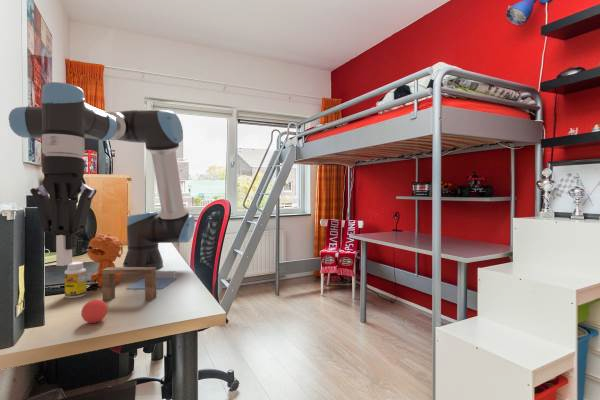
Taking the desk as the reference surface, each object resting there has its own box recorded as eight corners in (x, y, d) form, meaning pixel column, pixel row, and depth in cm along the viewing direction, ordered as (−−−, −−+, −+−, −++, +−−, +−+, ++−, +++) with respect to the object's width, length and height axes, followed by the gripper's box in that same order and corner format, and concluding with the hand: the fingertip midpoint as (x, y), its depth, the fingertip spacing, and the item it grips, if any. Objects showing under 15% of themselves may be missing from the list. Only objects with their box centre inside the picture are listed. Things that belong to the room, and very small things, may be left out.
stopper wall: (148, 277, 120) (148, 271, 120) (175, 277, 120) (175, 271, 120) (146, 278, 118) (146, 272, 118) (173, 278, 118) (173, 272, 118)
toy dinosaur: (90, 282, 114) (89, 231, 114) (124, 278, 118) (124, 230, 118) (83, 291, 104) (81, 235, 103) (121, 287, 108) (120, 233, 108)
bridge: (108, 297, 98) (107, 267, 98) (156, 297, 98) (156, 267, 98) (102, 300, 95) (102, 269, 95) (152, 300, 95) (151, 269, 95)
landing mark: (143, 279, 118) (143, 278, 118) (176, 278, 118) (176, 278, 118) (126, 289, 106) (126, 288, 106) (162, 289, 106) (162, 288, 106)
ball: (90, 317, 82) (90, 296, 82) (112, 317, 82) (112, 296, 82) (76, 326, 77) (75, 304, 77) (99, 326, 77) (99, 303, 77)
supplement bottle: (60, 297, 98) (59, 264, 97) (78, 292, 103) (78, 260, 102) (72, 299, 96) (72, 265, 95) (91, 294, 101) (90, 261, 100)
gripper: (18, 154, 66) (19, 268, 67) (82, 154, 66) (83, 268, 67) (47, 158, 74) (47, 261, 74) (104, 158, 74) (104, 261, 74)
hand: (64, 264), depth 70 cm, fingers closed
